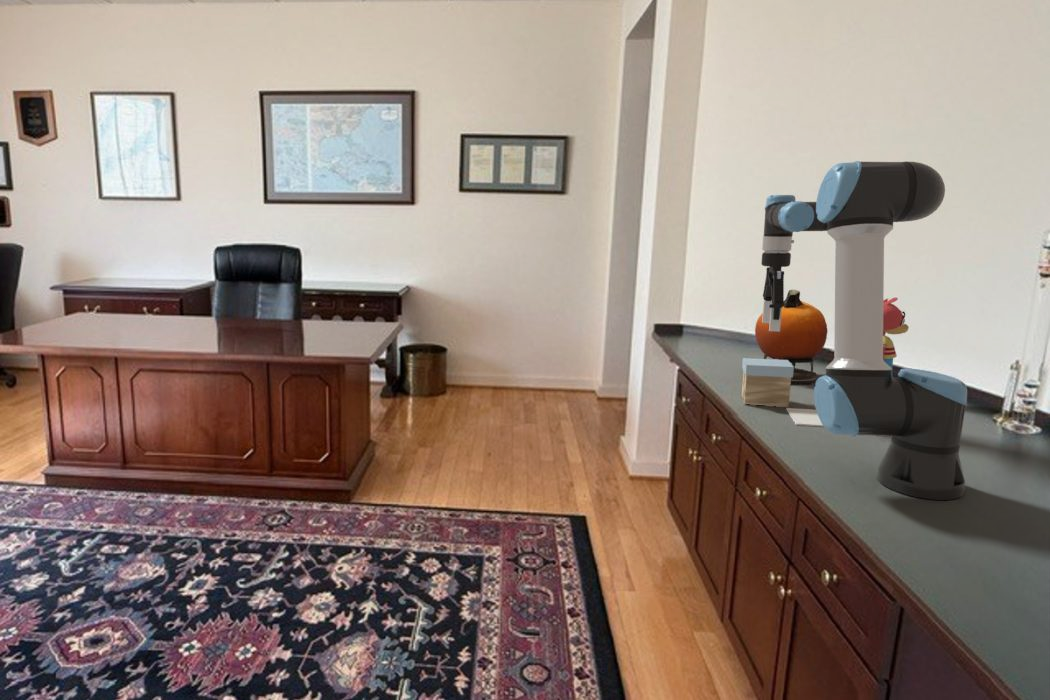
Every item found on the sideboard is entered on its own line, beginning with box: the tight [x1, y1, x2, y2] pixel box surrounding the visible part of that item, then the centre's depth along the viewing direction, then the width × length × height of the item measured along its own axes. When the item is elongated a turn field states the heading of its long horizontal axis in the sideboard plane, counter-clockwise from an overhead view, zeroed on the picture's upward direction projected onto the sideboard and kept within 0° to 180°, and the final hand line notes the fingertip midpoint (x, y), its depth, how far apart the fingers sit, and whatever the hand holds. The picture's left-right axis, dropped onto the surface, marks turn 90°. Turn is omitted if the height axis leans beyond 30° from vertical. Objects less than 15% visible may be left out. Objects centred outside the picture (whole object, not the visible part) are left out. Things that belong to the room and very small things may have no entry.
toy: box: [883, 297, 909, 377], centre depth 190 cm, size 15×10×30 cm
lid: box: [741, 357, 794, 377], centre depth 184 cm, size 9×13×4 cm
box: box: [741, 371, 792, 408], centre depth 185 cm, size 8×12×9 cm, turn 78°
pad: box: [785, 407, 825, 428], centre depth 171 cm, size 14×14×1 cm
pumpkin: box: [754, 289, 828, 386], centre depth 212 cm, size 22×22×30 cm
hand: (770, 327), depth 182 cm, fingers open, 13 cm apart
